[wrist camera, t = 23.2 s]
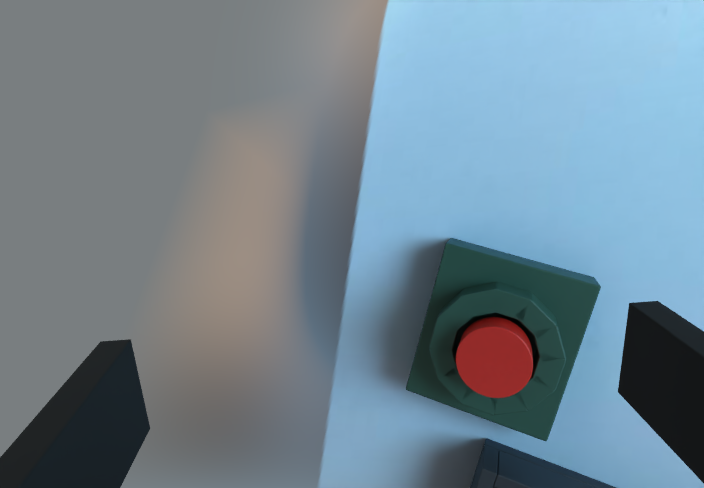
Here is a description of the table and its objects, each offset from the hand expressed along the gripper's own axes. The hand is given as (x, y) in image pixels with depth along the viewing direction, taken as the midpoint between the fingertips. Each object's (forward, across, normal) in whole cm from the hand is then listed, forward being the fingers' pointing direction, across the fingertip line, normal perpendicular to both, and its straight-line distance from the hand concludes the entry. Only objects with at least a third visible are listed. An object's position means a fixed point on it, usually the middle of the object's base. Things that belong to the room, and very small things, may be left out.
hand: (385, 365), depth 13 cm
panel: (+14, +8, -7) cm, 18 cm away
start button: (+11, +7, -6) cm, 14 cm away
